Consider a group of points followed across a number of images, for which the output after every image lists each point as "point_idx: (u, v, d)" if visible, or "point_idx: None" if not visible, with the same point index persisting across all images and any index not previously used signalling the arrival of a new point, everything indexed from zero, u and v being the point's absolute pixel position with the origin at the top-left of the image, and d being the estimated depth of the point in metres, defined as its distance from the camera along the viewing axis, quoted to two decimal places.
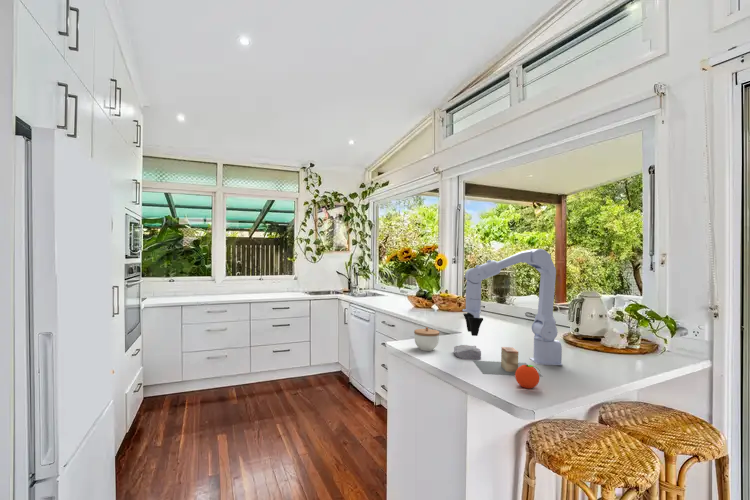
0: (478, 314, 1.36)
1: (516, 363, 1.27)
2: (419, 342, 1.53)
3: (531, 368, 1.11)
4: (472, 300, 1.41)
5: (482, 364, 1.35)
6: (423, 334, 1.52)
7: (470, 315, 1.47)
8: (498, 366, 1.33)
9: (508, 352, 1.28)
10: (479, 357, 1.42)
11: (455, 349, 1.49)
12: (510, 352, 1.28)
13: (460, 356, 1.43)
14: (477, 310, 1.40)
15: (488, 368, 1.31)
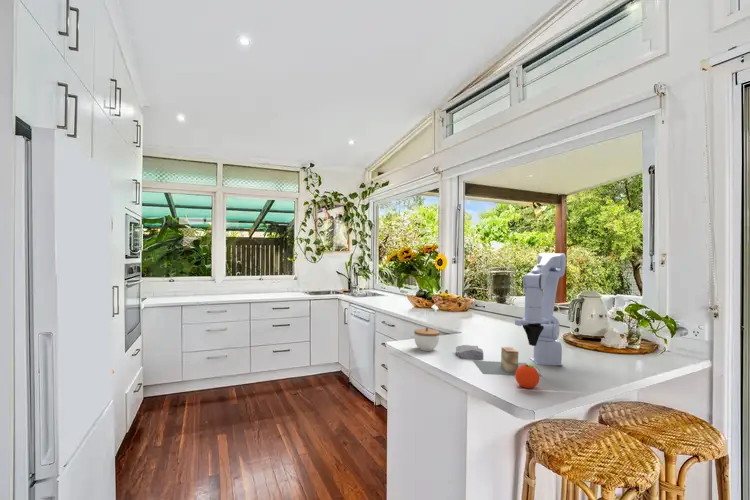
0: (518, 321, 1.27)
1: (516, 363, 1.27)
2: (419, 342, 1.53)
3: (531, 368, 1.11)
4: (525, 307, 1.30)
5: (482, 364, 1.35)
6: (423, 334, 1.52)
7: (533, 326, 1.31)
8: (498, 366, 1.33)
9: (508, 352, 1.28)
10: (481, 357, 1.42)
11: (457, 349, 1.49)
12: (510, 352, 1.28)
13: (462, 356, 1.43)
14: (529, 319, 1.29)
15: (488, 368, 1.31)
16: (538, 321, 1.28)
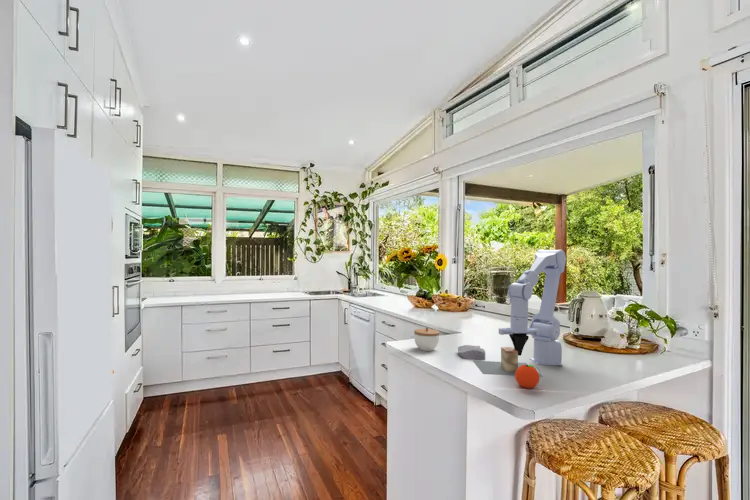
0: (500, 330, 1.29)
1: (516, 363, 1.28)
2: (419, 342, 1.53)
3: (531, 368, 1.11)
4: None
5: (482, 364, 1.35)
6: (423, 334, 1.52)
7: None
8: (498, 366, 1.33)
9: (508, 352, 1.28)
10: (483, 357, 1.42)
11: (459, 349, 1.49)
12: (510, 352, 1.28)
13: (464, 356, 1.43)
14: (513, 328, 1.29)
15: (488, 368, 1.31)
16: (522, 331, 1.28)
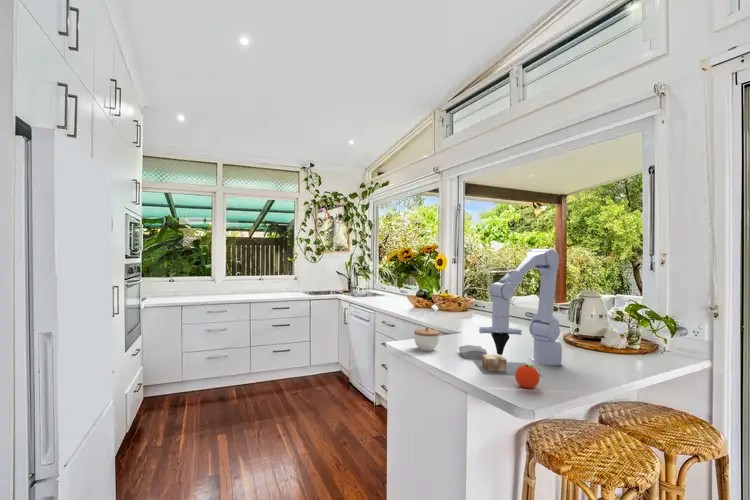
0: (480, 329, 1.31)
1: (498, 361, 1.28)
2: (419, 342, 1.53)
3: (531, 368, 1.11)
4: (492, 316, 1.32)
5: None
6: (423, 334, 1.52)
7: None
8: None
9: (487, 368, 1.28)
10: None
11: (460, 349, 1.49)
12: (487, 366, 1.28)
13: (466, 356, 1.43)
14: (493, 328, 1.30)
15: None
16: (501, 330, 1.28)
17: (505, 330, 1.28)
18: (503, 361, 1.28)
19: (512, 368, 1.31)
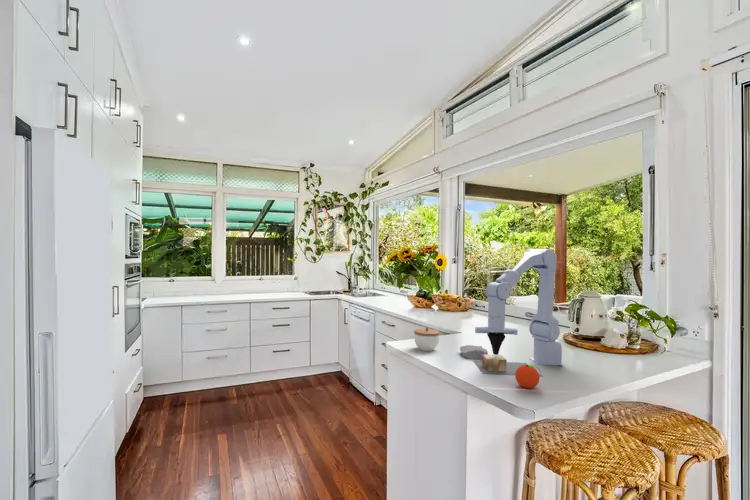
0: (476, 329, 1.31)
1: (498, 361, 1.28)
2: (419, 342, 1.53)
3: (531, 368, 1.11)
4: (488, 316, 1.32)
5: None
6: (423, 334, 1.52)
7: (496, 335, 1.31)
8: None
9: (487, 368, 1.28)
10: None
11: (461, 349, 1.49)
12: (487, 366, 1.28)
13: (467, 356, 1.43)
14: (489, 327, 1.30)
15: None
16: (497, 330, 1.28)
17: (501, 330, 1.28)
18: (503, 361, 1.28)
19: (512, 368, 1.31)
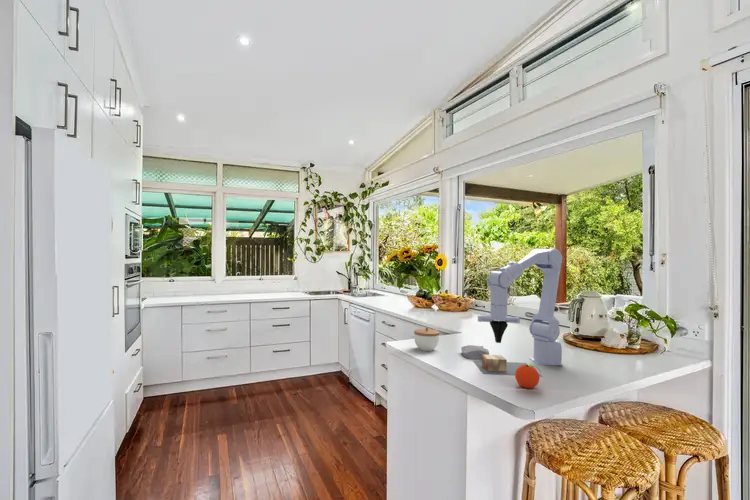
0: (478, 318, 1.32)
1: (498, 361, 1.28)
2: (419, 342, 1.53)
3: (531, 368, 1.11)
4: None
5: None
6: (423, 334, 1.52)
7: (498, 324, 1.32)
8: None
9: (487, 368, 1.28)
10: None
11: (463, 349, 1.49)
12: (487, 366, 1.28)
13: (468, 356, 1.43)
14: (492, 316, 1.31)
15: None
16: (499, 318, 1.29)
17: (503, 318, 1.29)
18: (503, 361, 1.28)
19: (512, 368, 1.31)
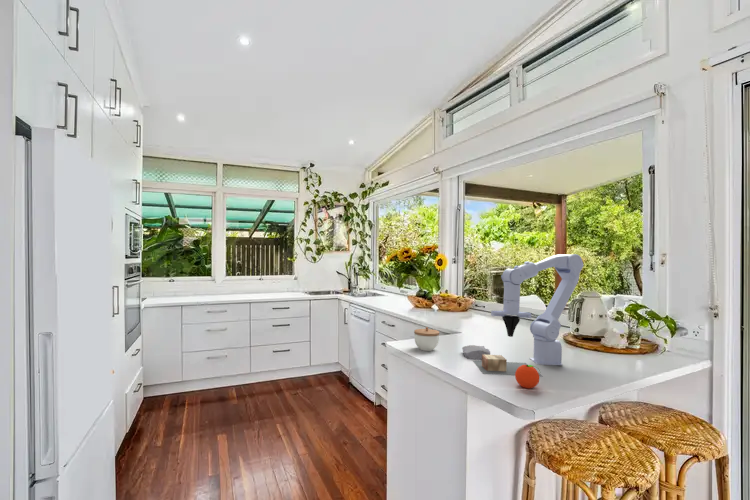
0: (492, 312, 1.38)
1: (498, 361, 1.28)
2: (419, 342, 1.53)
3: (531, 368, 1.11)
4: None
5: None
6: (423, 334, 1.52)
7: (511, 319, 1.39)
8: None
9: (487, 368, 1.28)
10: None
11: (464, 349, 1.49)
12: (487, 366, 1.28)
13: (469, 356, 1.43)
14: (505, 311, 1.38)
15: None
16: (512, 313, 1.36)
17: (516, 313, 1.36)
18: (503, 361, 1.28)
19: (512, 368, 1.31)
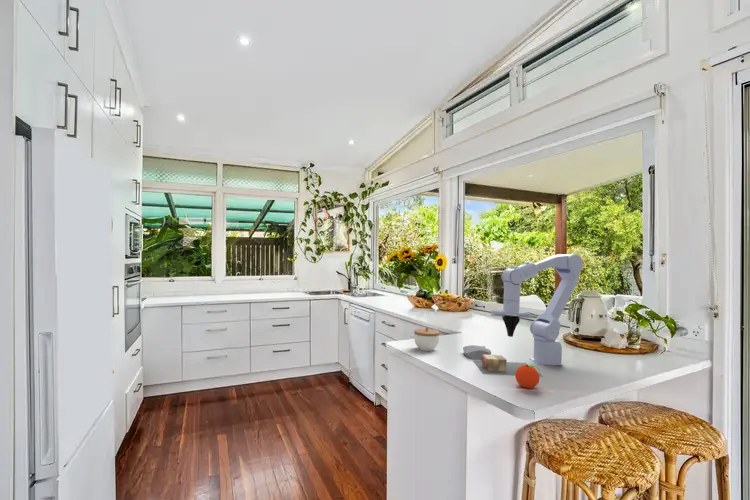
0: (492, 312, 1.38)
1: (498, 361, 1.28)
2: (419, 342, 1.53)
3: (531, 368, 1.11)
4: None
5: None
6: (423, 334, 1.52)
7: (511, 319, 1.39)
8: None
9: (487, 368, 1.28)
10: None
11: (464, 349, 1.49)
12: (487, 366, 1.28)
13: (470, 356, 1.43)
14: (505, 311, 1.38)
15: None
16: (512, 313, 1.36)
17: (516, 313, 1.36)
18: (503, 361, 1.28)
19: (512, 368, 1.31)
